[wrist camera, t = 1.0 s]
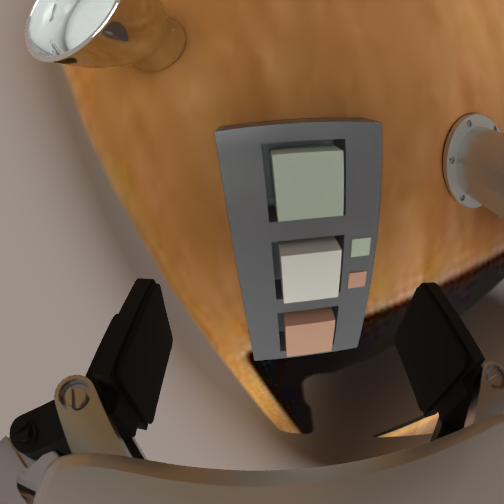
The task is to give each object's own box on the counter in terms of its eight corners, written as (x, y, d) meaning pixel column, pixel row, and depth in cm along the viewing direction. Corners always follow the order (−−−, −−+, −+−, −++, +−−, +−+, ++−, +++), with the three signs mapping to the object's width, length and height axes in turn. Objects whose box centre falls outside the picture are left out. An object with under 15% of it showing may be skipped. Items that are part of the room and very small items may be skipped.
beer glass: (161, 88, 22) (71, 85, 9) (111, 58, 19) (6, 47, 7) (206, 32, 19) (159, -33, 6) (152, 4, 17) (74, -53, 4)
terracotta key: (329, 302, 31) (335, 320, 29) (326, 333, 34) (331, 350, 32) (282, 308, 32) (285, 326, 29) (284, 338, 35) (286, 356, 32)
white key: (333, 234, 27) (341, 250, 24) (331, 279, 30) (338, 296, 27) (277, 240, 27) (280, 256, 24) (281, 285, 30) (284, 303, 27)
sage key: (332, 144, 22) (343, 150, 20) (333, 202, 25) (343, 215, 22) (269, 148, 22) (272, 155, 20) (275, 208, 25) (278, 221, 23)
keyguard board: (362, 117, 23) (382, 122, 19) (349, 324, 38) (357, 348, 34) (220, 126, 24) (214, 132, 20) (253, 336, 38) (254, 361, 34)
